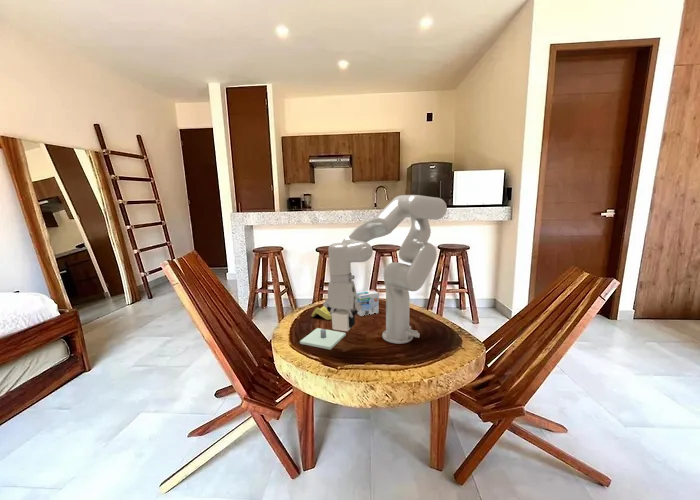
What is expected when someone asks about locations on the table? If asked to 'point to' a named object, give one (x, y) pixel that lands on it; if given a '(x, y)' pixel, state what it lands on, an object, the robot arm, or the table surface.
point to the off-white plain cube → (340, 320)
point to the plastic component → (322, 313)
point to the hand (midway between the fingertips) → (343, 324)
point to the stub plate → (323, 338)
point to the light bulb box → (368, 302)
